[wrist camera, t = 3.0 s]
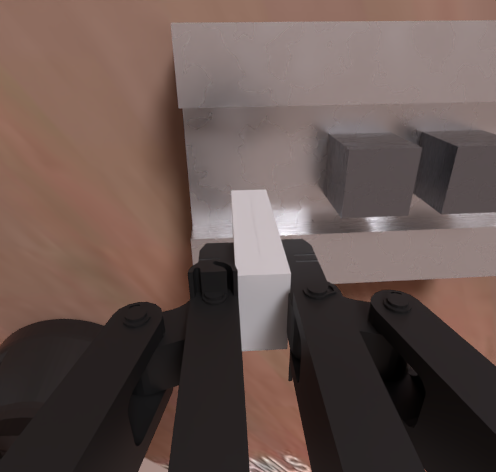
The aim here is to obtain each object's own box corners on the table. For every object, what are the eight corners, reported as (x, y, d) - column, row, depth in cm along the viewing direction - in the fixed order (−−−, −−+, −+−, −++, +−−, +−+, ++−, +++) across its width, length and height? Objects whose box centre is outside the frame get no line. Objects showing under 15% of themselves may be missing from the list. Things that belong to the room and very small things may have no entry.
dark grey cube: (465, 189, 25) (506, 211, 22) (410, 191, 25) (441, 214, 22) (482, 130, 24) (528, 144, 20) (421, 131, 23) (458, 146, 20)
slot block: (453, 237, 32) (500, 275, 27) (199, 248, 31) (195, 290, 25) (512, 26, 25) (593, 19, 19) (181, 28, 23) (170, 22, 18)
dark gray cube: (381, 192, 25) (408, 215, 21) (323, 194, 25) (341, 218, 21) (391, 132, 23) (422, 147, 20) (329, 134, 23) (349, 149, 19)
